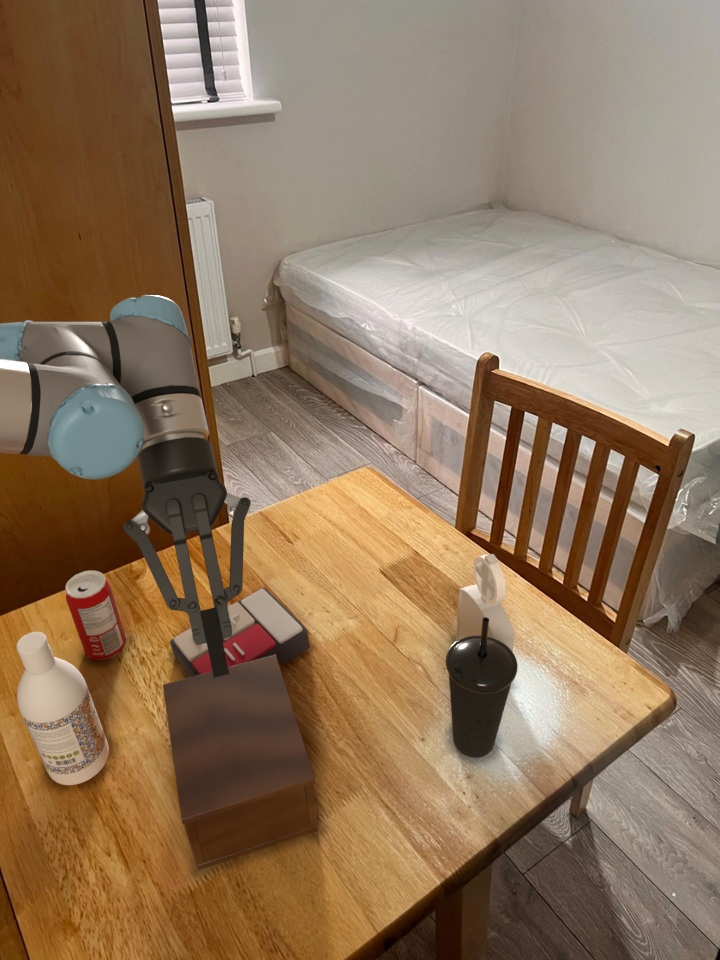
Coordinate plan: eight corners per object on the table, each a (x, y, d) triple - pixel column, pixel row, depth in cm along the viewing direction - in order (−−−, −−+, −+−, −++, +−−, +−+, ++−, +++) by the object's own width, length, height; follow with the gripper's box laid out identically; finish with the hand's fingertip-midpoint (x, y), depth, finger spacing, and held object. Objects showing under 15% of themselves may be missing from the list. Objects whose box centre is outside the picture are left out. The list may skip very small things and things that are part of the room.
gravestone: (473, 634, 100) (483, 531, 90) (507, 685, 93) (522, 580, 82) (455, 639, 99) (462, 536, 89) (488, 692, 92) (500, 586, 82)
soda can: (101, 627, 103) (80, 563, 96) (134, 636, 101) (115, 572, 94) (76, 656, 98) (53, 591, 92) (111, 666, 97) (89, 601, 90)
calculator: (166, 636, 96) (263, 582, 103) (174, 658, 98) (267, 603, 105) (207, 688, 89) (307, 626, 96) (213, 710, 91) (311, 648, 98)
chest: (318, 830, 78) (312, 775, 72) (197, 871, 74) (182, 816, 69) (283, 714, 90) (276, 659, 84) (178, 744, 87) (163, 689, 81)
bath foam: (116, 769, 84) (73, 650, 73) (54, 798, 81) (-1, 678, 70) (102, 726, 89) (59, 608, 78) (43, 751, 86) (-10, 632, 75)
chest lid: (315, 783, 71) (314, 778, 71) (183, 824, 68) (181, 819, 68) (276, 659, 84) (275, 654, 84) (163, 689, 81) (162, 684, 81)
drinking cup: (430, 724, 88) (435, 604, 77) (486, 705, 90) (500, 585, 79) (459, 778, 82) (470, 656, 71) (518, 756, 84) (538, 634, 73)
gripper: (103, 448, 70) (150, 696, 66) (238, 424, 73) (290, 659, 69) (112, 465, 77) (155, 690, 73) (235, 443, 80) (282, 657, 77)
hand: (221, 674), depth 71 cm, fingers closed
